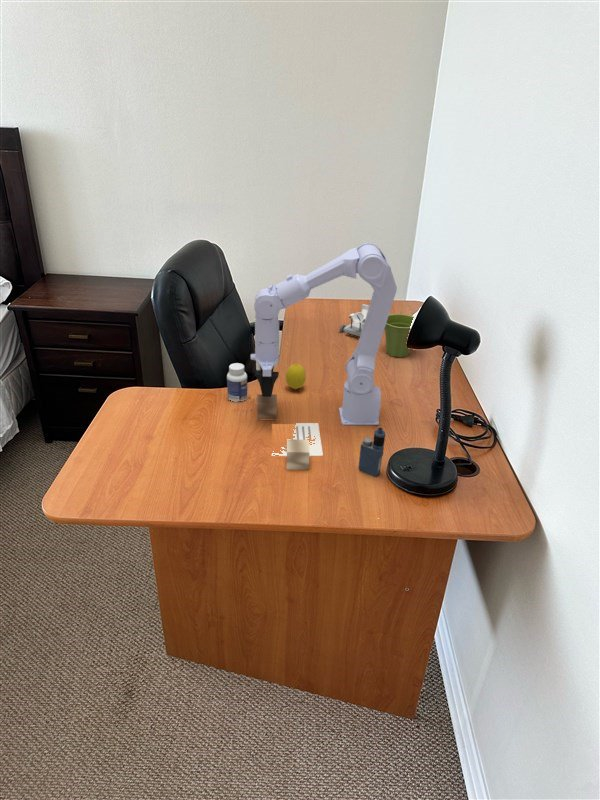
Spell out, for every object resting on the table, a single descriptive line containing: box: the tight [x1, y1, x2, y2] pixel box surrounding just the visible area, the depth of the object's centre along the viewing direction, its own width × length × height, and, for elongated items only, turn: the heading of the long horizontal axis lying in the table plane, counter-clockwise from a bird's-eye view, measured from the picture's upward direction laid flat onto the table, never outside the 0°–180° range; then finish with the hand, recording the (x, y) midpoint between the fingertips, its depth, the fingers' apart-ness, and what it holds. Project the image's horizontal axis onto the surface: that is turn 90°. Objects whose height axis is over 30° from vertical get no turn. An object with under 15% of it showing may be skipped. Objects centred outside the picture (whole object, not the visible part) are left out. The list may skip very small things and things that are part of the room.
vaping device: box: [358, 427, 386, 478], centre depth 123 cm, size 3×5×12 cm, turn 58°
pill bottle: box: [226, 362, 248, 403], centre depth 150 cm, size 5×5×10 cm
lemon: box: [285, 363, 307, 390], centre depth 156 cm, size 6×6×8 cm
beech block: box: [286, 439, 310, 471], centre depth 127 cm, size 5×5×5 cm
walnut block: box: [256, 393, 278, 421], centre depth 144 cm, size 5×5×5 cm
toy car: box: [339, 303, 370, 337], centre depth 193 cm, size 18×10×12 cm
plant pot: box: [384, 313, 415, 358], centre depth 178 cm, size 12×12×11 cm
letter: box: [271, 422, 324, 457], centre depth 136 cm, size 12×14×1 cm
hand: (266, 388), depth 142 cm, fingers open, 7 cm apart
